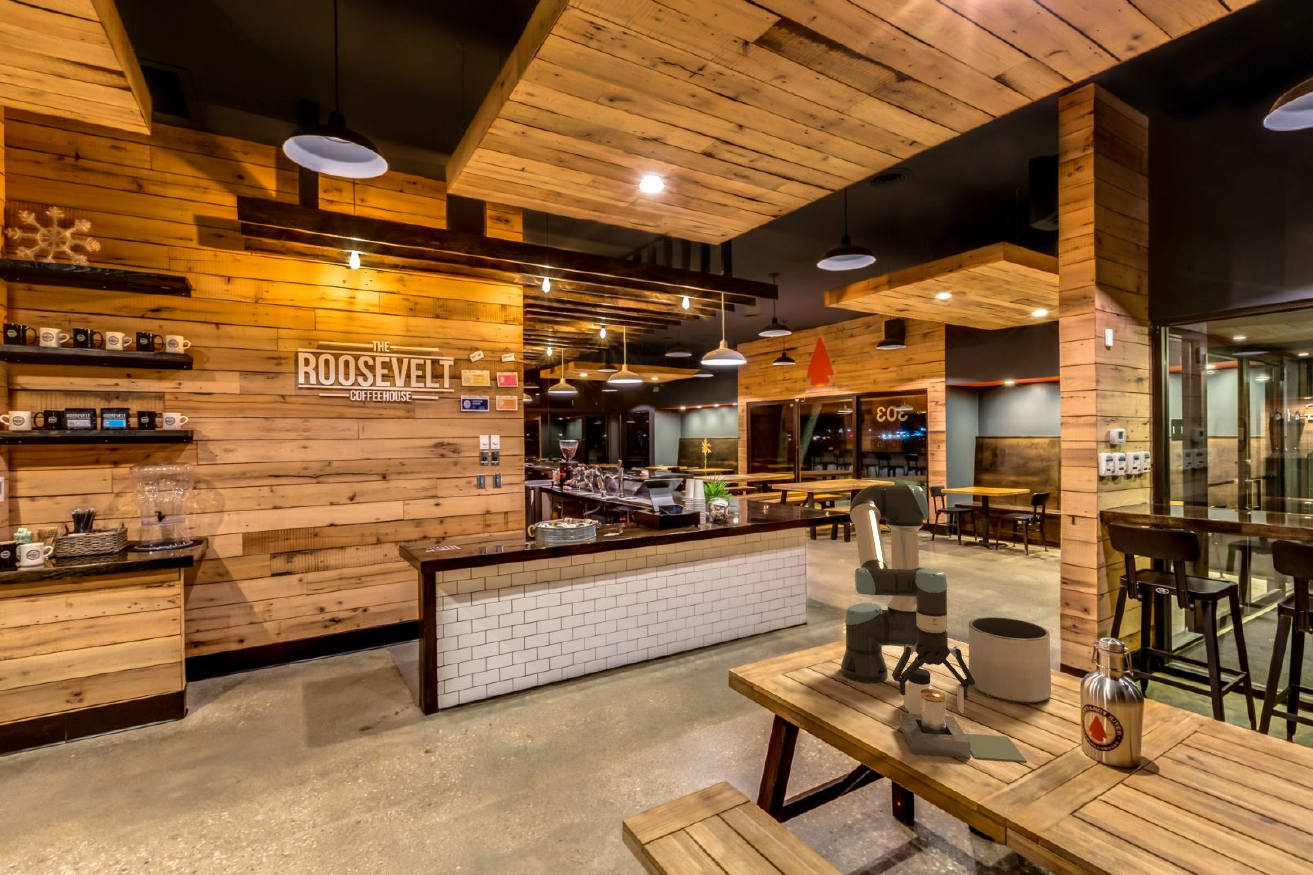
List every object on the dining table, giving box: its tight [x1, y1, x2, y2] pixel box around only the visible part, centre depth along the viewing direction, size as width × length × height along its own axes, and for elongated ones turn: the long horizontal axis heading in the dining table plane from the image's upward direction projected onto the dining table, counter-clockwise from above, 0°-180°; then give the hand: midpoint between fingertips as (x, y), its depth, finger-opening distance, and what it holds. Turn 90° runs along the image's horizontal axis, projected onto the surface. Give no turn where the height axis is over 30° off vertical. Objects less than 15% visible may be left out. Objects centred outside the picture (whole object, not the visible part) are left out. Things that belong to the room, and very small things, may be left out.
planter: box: [968, 616, 1052, 705], centre depth 191 cm, size 23×23×20 cm
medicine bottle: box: [907, 667, 934, 715], centre depth 179 cm, size 7×7×12 cm
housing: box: [899, 712, 972, 759], centre depth 160 cm, size 14×14×4 cm
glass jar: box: [921, 688, 947, 735], centre depth 160 cm, size 6×6×13 cm
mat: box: [964, 733, 1028, 763], centre depth 157 cm, size 12×12×1 cm
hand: (933, 708), depth 160 cm, fingers open, 13 cm apart
